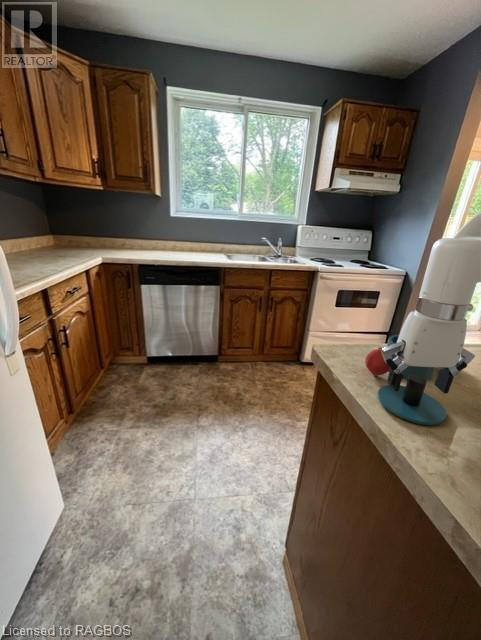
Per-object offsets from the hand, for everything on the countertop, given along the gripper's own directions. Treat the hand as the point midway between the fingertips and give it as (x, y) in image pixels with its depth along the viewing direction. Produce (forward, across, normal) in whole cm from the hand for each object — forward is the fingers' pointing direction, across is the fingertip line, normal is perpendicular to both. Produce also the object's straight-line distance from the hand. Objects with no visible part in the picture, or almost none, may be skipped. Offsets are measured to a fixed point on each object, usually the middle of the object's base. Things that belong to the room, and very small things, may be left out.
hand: (416, 388), depth 55 cm
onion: (+5, +2, -12) cm, 13 cm away
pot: (+5, -8, -16) cm, 18 cm away
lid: (+4, 0, 0) cm, 4 cm away
